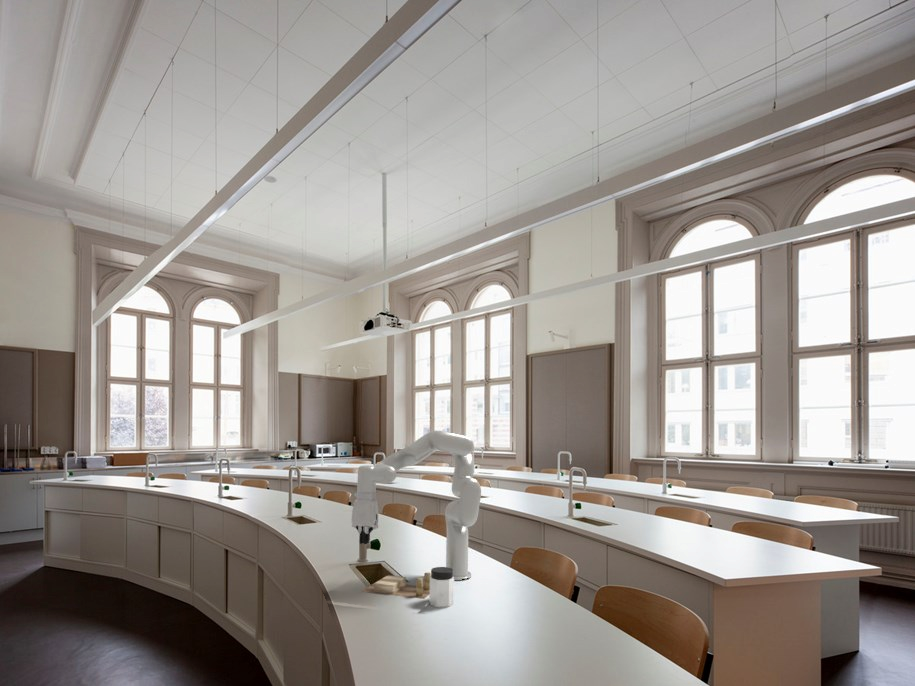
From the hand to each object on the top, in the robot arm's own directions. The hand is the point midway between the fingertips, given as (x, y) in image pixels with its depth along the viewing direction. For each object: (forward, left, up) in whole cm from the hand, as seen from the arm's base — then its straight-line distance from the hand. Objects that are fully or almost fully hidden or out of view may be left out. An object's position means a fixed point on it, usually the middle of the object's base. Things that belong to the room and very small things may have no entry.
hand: (364, 543), depth 222 cm
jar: (+7, +36, -17) cm, 41 cm away
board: (0, +16, -17) cm, 23 cm away
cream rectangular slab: (0, +12, -16) cm, 20 cm away
